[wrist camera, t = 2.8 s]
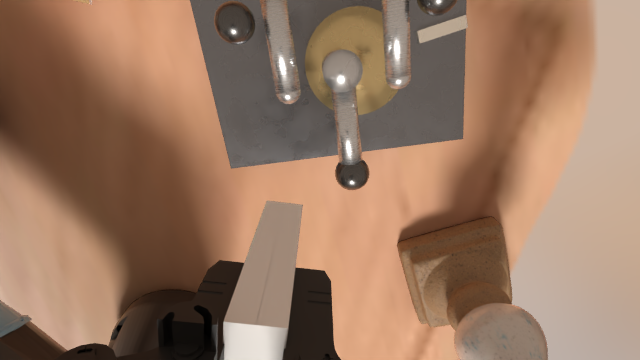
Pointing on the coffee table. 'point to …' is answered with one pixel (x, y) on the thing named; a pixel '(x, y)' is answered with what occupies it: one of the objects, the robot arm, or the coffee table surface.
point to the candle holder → (470, 292)
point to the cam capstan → (337, 63)
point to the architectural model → (85, 1)
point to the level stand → (308, 111)
